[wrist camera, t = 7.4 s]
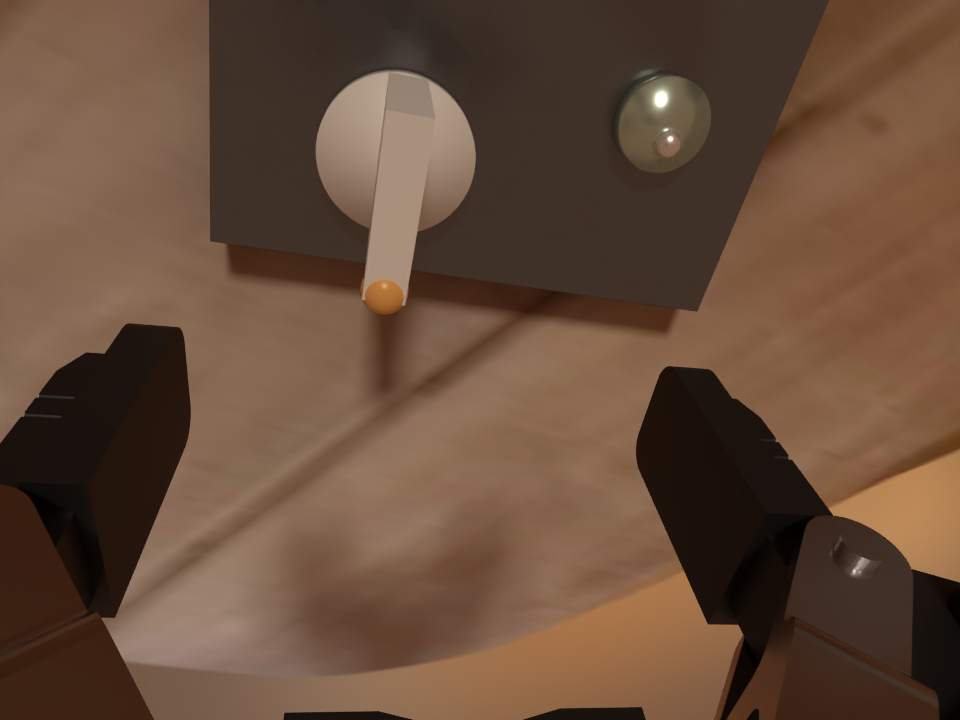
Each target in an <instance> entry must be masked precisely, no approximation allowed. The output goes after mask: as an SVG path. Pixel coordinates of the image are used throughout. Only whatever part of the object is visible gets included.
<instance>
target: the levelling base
mask: <svg viewBox="0 0 960 720" xmlns="http://www.w3.org/2000/svg"><path fill="white" fill-rule="evenodd" d="M828 1H829V0H209V61H210V241H212V242H219V243H226V244H233V245H240V246H247V247H254V248H261V249H268V250H275V251H281V252H288V253H295V254H302V255H309V256H316V257H323V258H330V259H337V260H344V261H351V262H358V263H365V264H366V255H367V245H368V235H369V228H367V227H365V226H363V225H361V224H359V223H357V222H355V221H354V220H352V219H351V218H349V217H348V216H347V215H346V214H345V213H343V212H342V211H341V210H340V209H339V208H338V207H337V206H336V204H335V203H334V202H333V201H332V199H331V198H330V196H329V195H328V193H327V191H326V190H325V188H324V186H323V183H322V181H321V178H320V176H319V172H318V168H317V161H316V141H317V134H318V131H319V127H320V124H321V122H322V119H323V117H324V115H325V112H326V110H327V108H328V106H329V105H330V103H331V102H332V100H333V99H334V98H335V96H336V95H337V94H338V93H339V92H340V91H341V90H342V89H343V88H344V87H345V86H346V85H348V84H349V83H351V82H352V81H354V80H355V79H357V78H359V77H361V76H363V75H366V74H369V73H372V72H375V71H381V70H405V71H410V72H414V73H417V74H420V75H423V76H425V77H427V78H429V79H431V80H433V81H434V82H436V83H438V84H439V85H440V86H442V87H443V88H444V89H445V90H447V91H448V92H449V94H450V95H451V96H452V97H453V98H454V99H455V100H456V102H457V103H458V104H459V106H460V107H461V109H462V111H463V112H464V114H465V116H466V119H467V121H468V123H469V126H470V129H471V132H472V135H473V139H474V144H475V152H476V163H475V171H474V175H473V179H472V183H471V185H470V188H469V190H468V192H467V194H466V196H465V197H464V199H463V201H462V202H461V203H460V205H459V206H458V207H457V208H456V209H455V210H454V211H453V212H452V213H451V215H449V216H448V217H447V218H445V219H444V220H443V221H441V222H440V223H438V224H436V225H435V226H432V227H430V228H428V229H425V230H422V231H419V232H417V236H416V242H415V248H414V254H413V260H412V266H411V270H413V271H420V272H427V273H434V274H441V275H448V276H454V277H461V278H468V279H475V280H482V281H489V282H496V283H503V284H510V285H517V286H524V287H531V288H537V289H544V290H551V291H558V292H565V293H572V294H579V295H586V296H593V297H600V298H607V299H614V300H620V301H627V302H634V303H641V304H648V305H655V306H662V307H669V308H676V309H683V310H690V311H698V308H699V306H700V304H701V301H702V299H703V296H704V294H705V292H706V289H707V287H708V285H709V282H710V280H711V278H712V275H713V273H714V271H715V268H716V266H717V263H718V261H719V259H720V256H721V254H722V252H723V249H724V247H725V245H726V242H727V240H728V237H729V235H730V233H731V230H732V228H733V226H734V223H735V221H736V219H737V216H738V214H739V211H740V209H741V207H742V204H743V202H744V200H745V197H746V195H747V193H748V190H749V188H750V185H751V183H752V181H753V178H754V176H755V174H756V171H757V169H758V167H759V164H760V162H761V160H762V157H763V155H764V152H765V150H766V148H767V145H768V143H769V141H770V138H771V136H772V134H773V131H774V129H775V126H776V124H777V122H778V119H779V117H780V115H781V112H782V110H783V108H784V105H785V103H786V100H787V98H788V96H789V93H790V91H791V89H792V86H793V84H794V82H795V79H796V77H797V74H798V72H799V70H800V67H801V65H802V63H803V60H804V58H805V56H806V53H807V51H808V49H809V46H810V44H811V41H812V39H813V37H814V34H815V32H816V30H817V27H818V25H819V23H820V20H821V18H822V15H823V13H824V11H825V8H826V6H827V4H828Z"/></svg>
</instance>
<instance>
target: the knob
mask: <svg viewBox="0 0 960 720" xmlns="http://www.w3.org/2000/svg"><path fill="white" fill-rule="evenodd" d="M316 161H317V168H318V172H319V176H320V178H321V181H322V183H323V186H324V188H325V190H326V191H327V193H328V195H329V196H330V198H331V199H332V201H333V202H334V203H335V204H336V206H337V207H338V208H339V209H340V210H341V211H342V212H343V213H345V214H346V215H347V216H348V217H349V218H351V219H352V220H354V221H355V222H357V223H359V224H361V225H363V226H365V227H367V228H369V235H368V245H367V255H366V265H365V275H364V278H363V280H362V282H361V286H360V294H361V298H362V300H363V302H364V304H365V305H366V306H367V307H368V308H369V309H370V310H371V311H373V312H375V313H378V314H382V315H388V314H392V313H395V312H397V311H398V310H400V309H401V308H402V307H403V306H405V303H406V301H407V299H408V295H409V286H408V284H409V278H410V272H411V266H412V260H413V254H414V248H415V242H416V236H417V232H419V231H422V230H425V229H428V228H430V227H432V226H435V225H436V224H438V223H440V222H441V221H443V220H444V219H445V218H447V217H448V216H449V215H451V213H452V212H453V211H454V210H455V209H456V208H457V207H458V206H459V205H460V203H461V202H462V201H463V199H464V197H465V196H466V194H467V192H468V190H469V188H470V185H471V183H472V179H473V175H474V171H475V163H476V152H475V144H474V139H473V135H472V132H471V129H470V126H469V123H468V121H467V119H466V116H465V114H464V112H463V111H462V109H461V107H460V106H459V104H458V103H457V102H456V100H455V99H454V98H453V97H452V96H451V95H450V94H449V92H448V91H447V90H445V89H444V88H443V87H442V86H440V85H439V84H438V83H436V82H434V81H433V80H431V79H429V78H427V77H425V76H423V75H420V74H417V73H414V72H410V71H405V70H381V71H375V72H372V73H369V74H366V75H363V76H361V77H359V78H357V79H355V80H354V81H352V82H351V83H349V84H348V85H346V86H345V87H344V88H343V89H342V90H341V91H340V92H339V93H338V94H337V95H336V96H335V98H334V99H333V100H332V102H331V103H330V105H329V106H328V108H327V110H326V112H325V115H324V117H323V119H322V122H321V124H320V127H319V131H318V134H317V141H316Z"/></svg>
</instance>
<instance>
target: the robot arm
mask: <svg viewBox="0 0 960 720" xmlns="http://www.w3.org/2000/svg"><path fill="white" fill-rule="evenodd" d="M190 418H191V407H190V396H189V385H188V374H187V364H186V353H185V342H184V336H183V333H182V330H181V329H180V328H179V327H169V326H156V325H143V324H130V323H129V324H126V325H125V326H124V327H123V328H122V329H121V331H120V332H119V334H118V335H117V337H116V338H115V340H114V341H113V343H112V344H111V345H110V347H109V348H108V350H107V351H106V353H105V354H100V353H85V354H83V355H82V356H80V357H78V358H77V359H75V360H73V361H72V362H70V363H68V364H67V365H65V366H64V367H62V368H60V369H59V370H57V371H56V372H55V373H54V375H53V376H52V377H51V379H50V380H49V381H48V383H47V384H46V385H45V386H44V388H43V389H42V390H41V392H40V393H39V398H35V399H34V401H33V402H32V403H31V405H30V406H29V407H28V408H27V410H26V411H25V416H24V417H20V419H19V420H18V421H17V423H16V424H15V425H14V426H13V428H12V429H11V430H10V432H9V433H8V434H7V436H6V437H5V438H4V439H3V441H2V442H1V443H0V720H154V719H153V717H152V715H151V713H150V711H149V709H148V707H147V705H146V703H145V701H144V699H143V697H142V696H141V693H140V691H139V690H138V688H137V686H136V684H135V682H134V680H133V678H132V676H131V674H130V672H129V670H128V668H127V666H126V664H125V662H124V660H123V659H122V657H121V655H120V653H119V651H118V649H117V647H116V645H115V643H114V641H113V639H112V637H111V635H110V633H109V631H108V629H107V628H106V626H105V624H104V622H103V620H102V619H101V618H115V616H116V614H117V612H118V609H119V607H120V604H121V602H122V599H123V597H124V595H125V592H126V590H127V587H128V585H129V582H130V580H131V578H132V575H133V573H134V570H135V568H136V565H137V563H138V560H139V558H140V556H141V553H142V551H143V548H144V546H145V543H146V541H147V539H148V536H149V534H150V531H151V529H152V526H153V524H154V522H155V519H156V517H157V514H158V512H159V509H160V507H161V505H162V502H163V500H164V497H165V495H166V492H167V490H168V487H169V485H170V483H171V480H172V478H173V475H174V473H175V470H176V468H177V466H178V463H179V461H180V458H181V456H182V453H183V451H184V449H185V446H186V443H187V439H188V435H189V429H190ZM775 440H776V438H775V436H774V435H773V434H772V432H771V431H770V430H769V428H768V427H767V426H766V424H765V423H764V422H763V420H762V419H761V418H760V417H759V416H758V415H756V414H755V413H754V412H753V411H751V410H750V409H749V408H747V407H746V406H745V405H744V404H742V403H741V402H740V401H738V400H737V399H732V398H731V396H730V395H729V393H728V392H727V391H726V389H725V388H724V386H723V385H722V383H721V382H720V381H719V379H718V378H717V376H716V375H715V374H714V373H713V372H712V371H711V370H709V369H699V368H686V367H673V366H668V367H666V368H665V369H663V371H662V372H661V374H660V375H659V378H658V380H657V383H656V386H655V389H654V392H653V395H652V397H651V400H650V403H649V406H648V409H647V412H646V414H645V417H644V420H643V423H642V426H641V428H640V431H639V434H638V438H637V444H636V458H637V464H638V468H639V471H640V473H641V475H642V478H643V480H644V482H645V484H646V487H647V489H648V491H649V493H650V496H651V498H652V500H653V502H654V505H655V507H656V509H657V511H658V514H659V516H660V518H661V520H662V522H663V525H664V527H665V529H666V531H667V534H668V536H669V538H670V540H671V543H672V545H673V547H674V549H675V552H676V554H677V556H678V558H679V561H680V563H681V565H682V567H683V570H684V572H685V574H686V576H687V578H688V581H689V583H690V585H691V587H692V590H693V592H694V594H695V596H696V599H697V601H698V603H699V605H700V608H701V610H702V612H703V614H704V617H705V619H706V621H707V623H708V624H731V625H739V627H740V628H741V631H742V633H743V636H742V638H741V640H740V642H739V643H738V645H737V647H736V649H735V652H734V655H733V659H732V662H731V665H730V669H729V672H728V675H727V678H726V682H725V685H724V688H723V691H722V695H721V698H720V701H719V705H718V708H717V711H716V714H715V718H714V720H960V583H959V582H956V581H952V580H949V579H945V578H941V577H938V576H934V575H931V574H927V573H924V572H920V571H917V570H913V569H911V567H910V565H909V563H908V562H907V560H906V558H905V557H904V556H903V554H902V553H901V552H900V551H899V550H898V549H897V548H896V547H895V546H894V545H893V544H892V543H891V542H890V541H889V540H887V539H886V538H885V537H883V536H882V535H880V534H879V533H878V532H876V531H874V530H873V529H871V528H869V527H867V526H865V525H863V524H861V523H859V522H856V521H853V520H850V519H847V518H844V517H838V516H833V515H832V513H831V512H830V510H829V509H828V508H827V506H826V505H825V504H824V502H823V501H822V500H821V498H820V497H819V496H818V494H817V493H816V492H815V490H814V489H813V488H812V486H811V485H810V484H809V482H808V481H807V480H806V478H805V477H804V475H803V474H802V473H801V471H800V470H799V469H798V467H797V466H796V465H795V463H794V462H793V461H792V460H789V459H788V454H787V453H786V451H785V450H784V449H783V447H782V446H781V445H780V443H779V442H776V441H775ZM284 720H412V719H407V718H403V717H399V716H395V715H391V714H387V713H383V712H379V711H373V712H371V711H370V712H306V713H305V712H304V713H285V714H284ZM524 720H646V719H645V716H644V713H643V710H642V707H629V708H568V709H567V708H565V709H557V710H554V711H551V712H547V713H544V714H541V715H537V716H534V717H531V718H527V719H524Z"/></svg>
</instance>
